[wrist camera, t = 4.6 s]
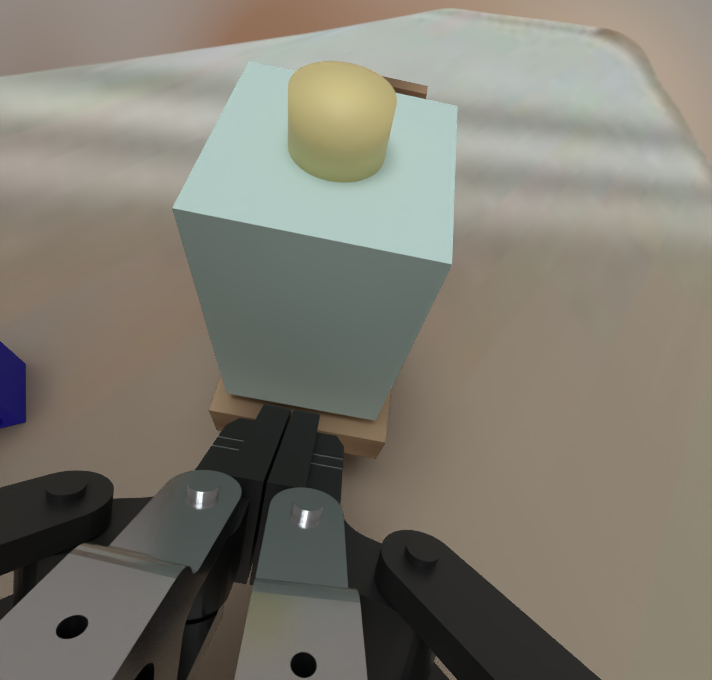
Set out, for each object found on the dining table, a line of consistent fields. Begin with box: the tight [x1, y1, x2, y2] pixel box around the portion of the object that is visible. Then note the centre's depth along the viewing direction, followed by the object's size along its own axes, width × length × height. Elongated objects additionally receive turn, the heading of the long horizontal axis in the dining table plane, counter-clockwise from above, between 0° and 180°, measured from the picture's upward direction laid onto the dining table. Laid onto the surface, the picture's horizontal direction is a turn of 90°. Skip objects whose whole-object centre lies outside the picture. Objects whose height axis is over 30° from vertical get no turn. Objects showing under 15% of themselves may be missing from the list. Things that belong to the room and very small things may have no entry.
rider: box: [172, 61, 457, 421], centre depth 12 cm, size 5×5×9 cm
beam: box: [209, 76, 428, 459], centre depth 22 cm, size 6×20×7 cm, turn 172°
